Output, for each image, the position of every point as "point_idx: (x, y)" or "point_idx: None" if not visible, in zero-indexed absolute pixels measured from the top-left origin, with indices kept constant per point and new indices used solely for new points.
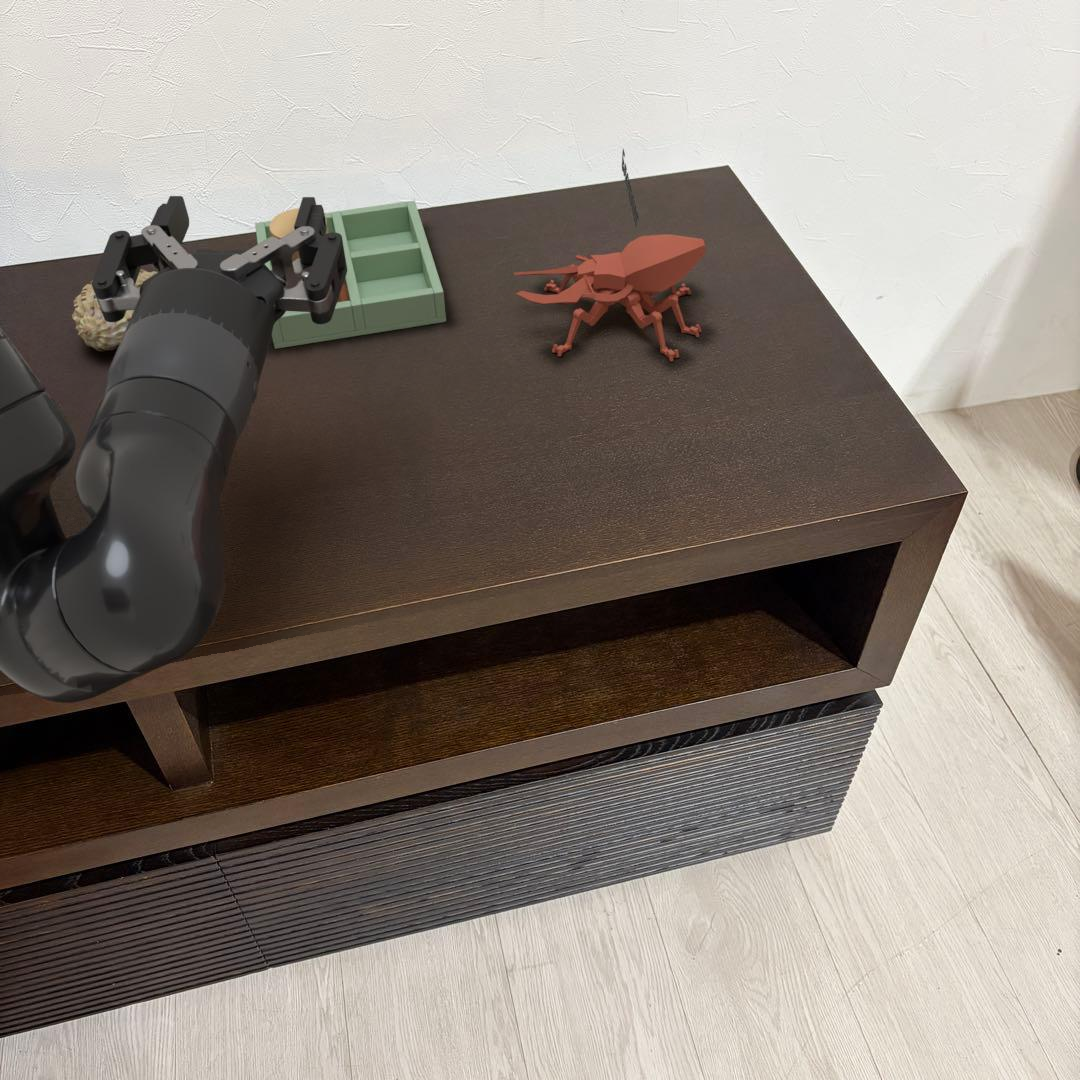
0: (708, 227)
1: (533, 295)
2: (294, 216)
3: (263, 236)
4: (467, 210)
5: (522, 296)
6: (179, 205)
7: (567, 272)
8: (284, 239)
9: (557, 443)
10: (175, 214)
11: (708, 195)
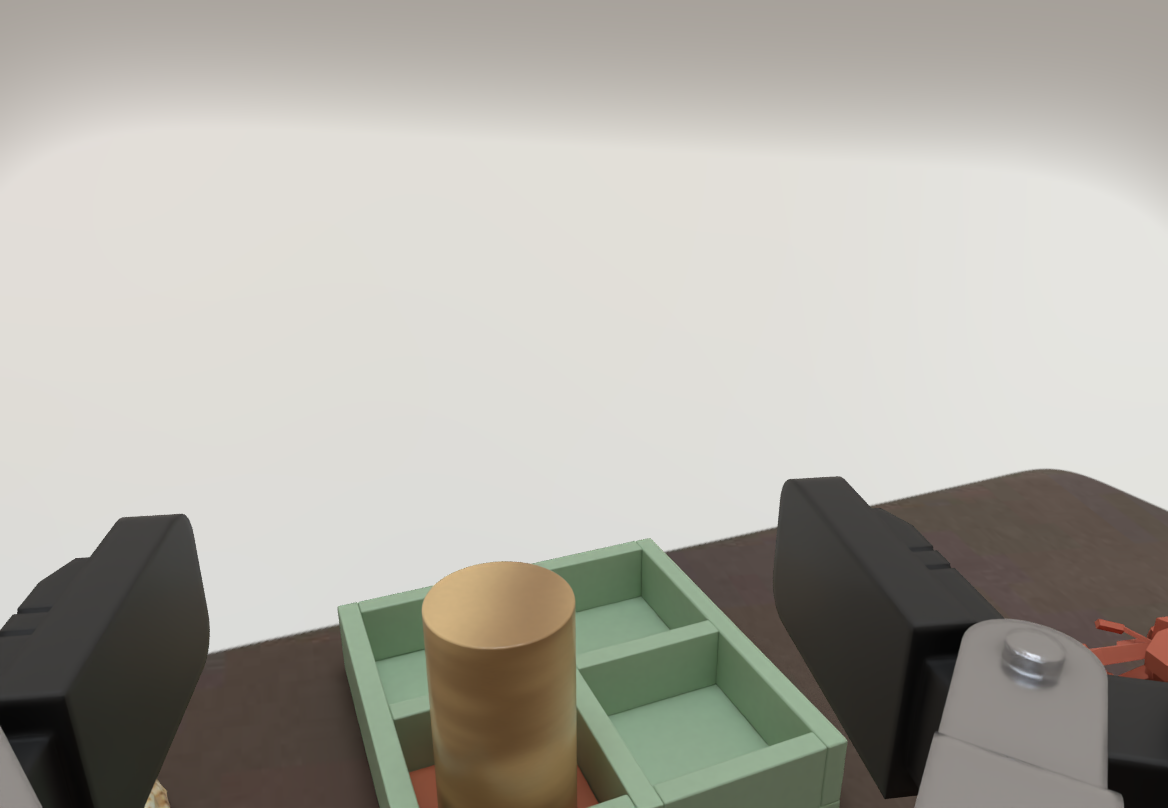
0: (1148, 548)
1: None
2: (482, 583)
3: (360, 635)
4: (717, 551)
5: None
6: (167, 560)
7: (1107, 662)
8: (969, 734)
9: None
10: (136, 612)
11: (1086, 500)
